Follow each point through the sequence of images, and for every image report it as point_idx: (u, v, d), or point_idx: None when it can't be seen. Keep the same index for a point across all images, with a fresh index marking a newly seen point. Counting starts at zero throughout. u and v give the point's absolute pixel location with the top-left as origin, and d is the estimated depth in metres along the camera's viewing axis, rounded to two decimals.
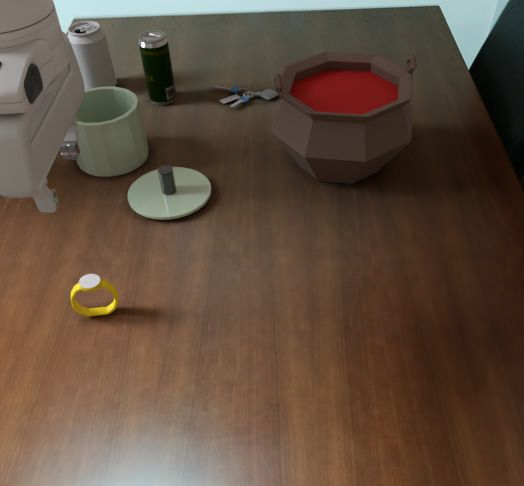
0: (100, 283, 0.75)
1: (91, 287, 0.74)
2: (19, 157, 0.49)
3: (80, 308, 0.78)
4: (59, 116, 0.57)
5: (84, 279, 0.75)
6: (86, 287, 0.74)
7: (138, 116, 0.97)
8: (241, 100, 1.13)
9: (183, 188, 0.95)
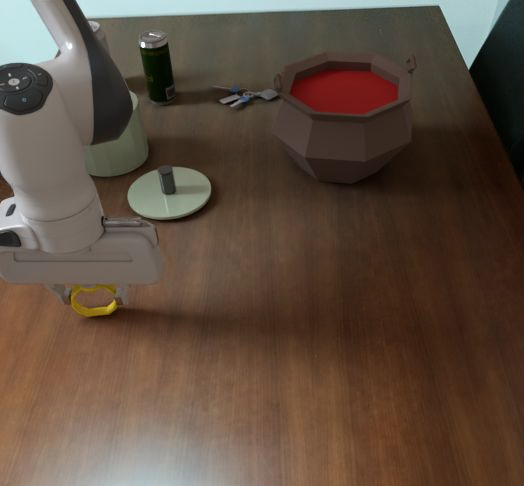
0: None
1: (91, 287, 0.74)
2: None
3: (80, 308, 0.78)
4: (81, 272, 0.71)
5: None
6: (86, 288, 0.74)
7: (138, 116, 0.97)
8: (241, 100, 1.13)
9: (183, 188, 0.95)
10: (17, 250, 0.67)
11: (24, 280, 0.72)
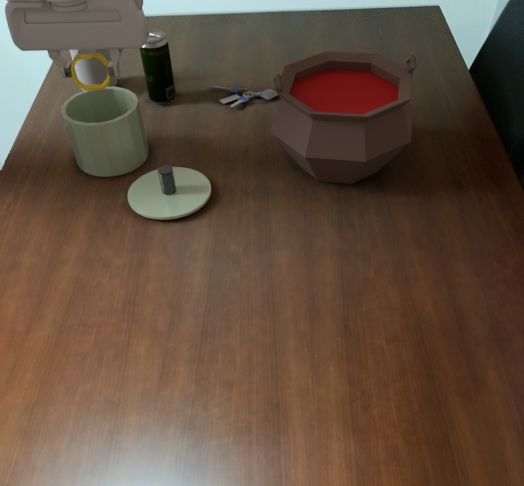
0: (95, 53, 0.90)
1: (88, 54, 0.89)
2: None
3: (79, 82, 0.93)
4: (79, 33, 0.86)
5: (82, 50, 0.90)
6: (84, 54, 0.89)
7: (138, 116, 0.97)
8: (241, 100, 1.13)
9: (183, 188, 0.95)
10: (27, 6, 0.82)
11: (32, 45, 0.87)
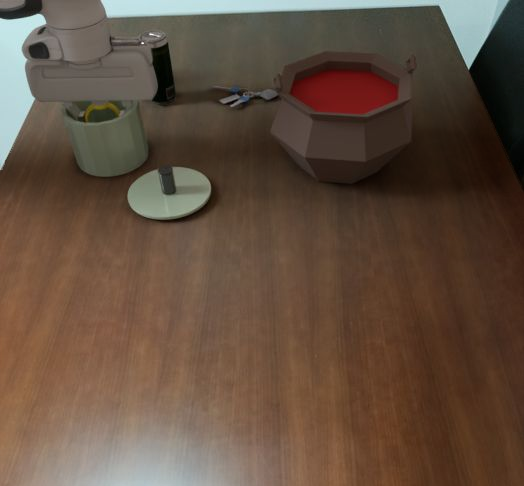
0: (108, 103, 0.96)
1: (101, 105, 0.95)
2: None
3: None
4: (94, 87, 0.92)
5: None
6: (97, 105, 0.95)
7: (138, 116, 0.97)
8: (241, 100, 1.13)
9: (183, 188, 0.95)
10: (45, 63, 0.89)
11: (49, 97, 0.94)
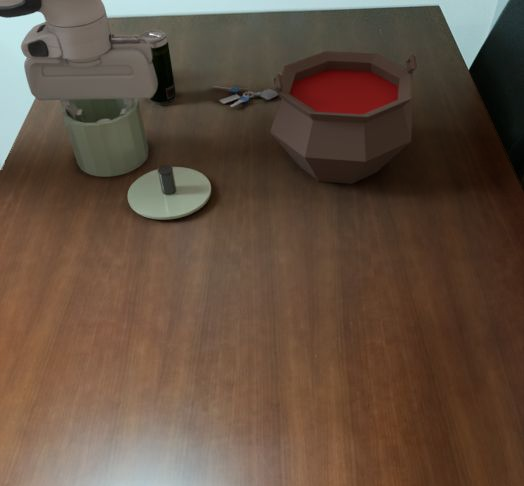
0: None
1: None
2: None
3: None
4: (93, 85, 0.92)
5: None
6: None
7: (138, 116, 0.97)
8: (241, 100, 1.13)
9: (183, 188, 0.95)
10: (45, 61, 0.88)
11: (49, 95, 0.93)
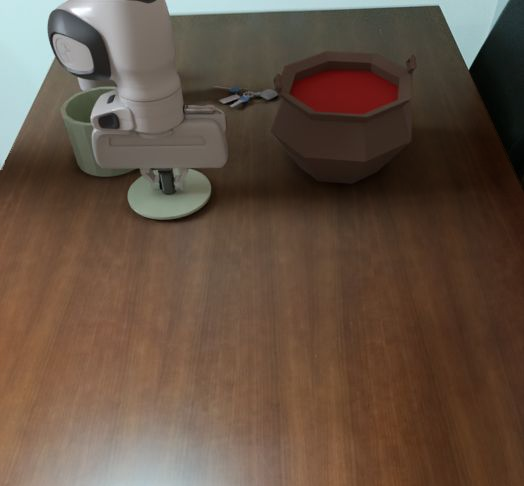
0: None
1: None
2: None
3: None
4: (162, 155, 0.87)
5: None
6: None
7: None
8: (241, 100, 1.13)
9: None
10: (114, 133, 0.84)
11: (114, 164, 0.89)
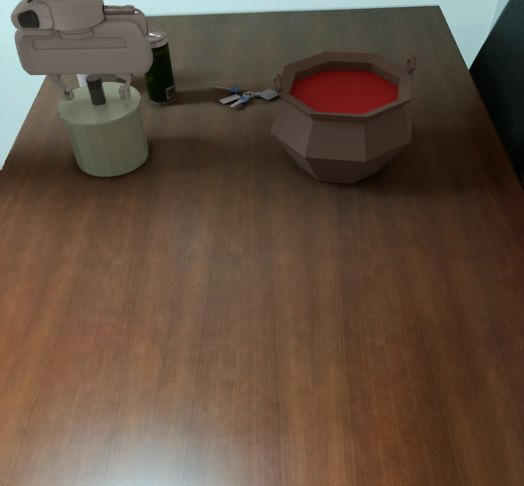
0: None
1: None
2: None
3: None
4: (86, 59, 0.89)
5: None
6: None
7: (138, 116, 0.97)
8: (241, 100, 1.13)
9: (113, 99, 0.96)
10: (36, 33, 0.85)
11: (40, 70, 0.90)
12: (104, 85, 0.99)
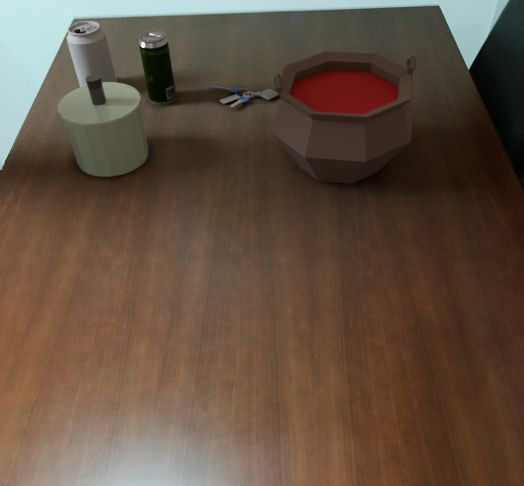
0: None
1: None
2: None
3: None
4: None
5: None
6: None
7: (138, 116, 0.97)
8: (241, 100, 1.13)
9: (113, 99, 0.96)
10: None
11: None
12: (104, 85, 0.99)
